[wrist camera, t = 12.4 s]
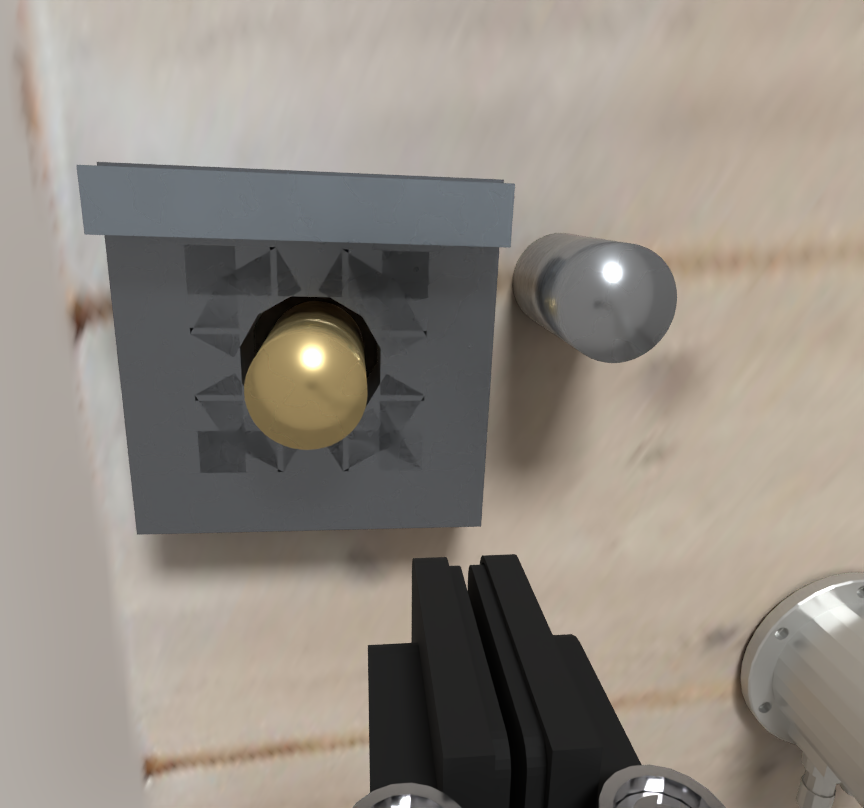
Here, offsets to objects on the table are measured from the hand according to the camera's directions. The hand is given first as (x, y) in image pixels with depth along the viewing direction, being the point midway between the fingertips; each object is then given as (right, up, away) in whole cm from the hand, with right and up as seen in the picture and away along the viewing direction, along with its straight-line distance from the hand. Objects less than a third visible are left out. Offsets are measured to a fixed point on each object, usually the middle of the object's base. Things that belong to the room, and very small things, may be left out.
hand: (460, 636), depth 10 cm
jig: (-6, +7, +22) cm, 23 cm away
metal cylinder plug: (+6, +10, +22) cm, 25 cm away
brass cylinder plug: (-6, +7, +22) cm, 24 cm away
